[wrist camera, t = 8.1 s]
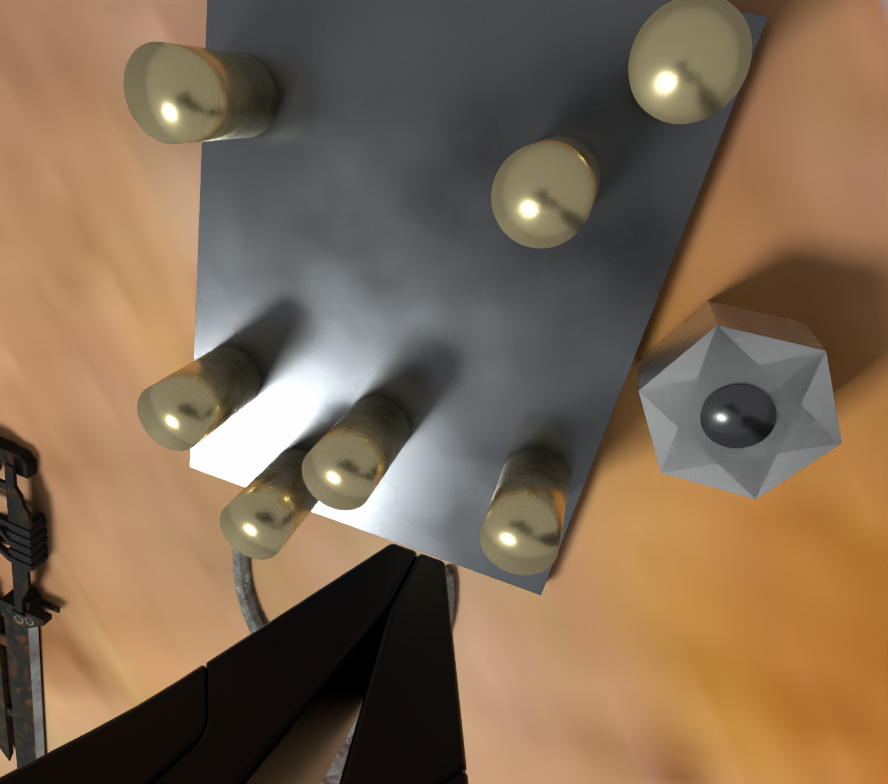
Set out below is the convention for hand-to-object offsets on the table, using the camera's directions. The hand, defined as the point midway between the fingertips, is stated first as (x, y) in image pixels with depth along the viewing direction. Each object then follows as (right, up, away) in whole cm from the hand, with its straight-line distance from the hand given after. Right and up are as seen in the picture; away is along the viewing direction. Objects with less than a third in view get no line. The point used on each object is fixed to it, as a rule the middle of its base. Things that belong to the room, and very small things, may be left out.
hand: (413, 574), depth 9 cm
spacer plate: (0, +5, +10) cm, 12 cm away
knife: (-22, -10, +25) cm, 34 cm away
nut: (+9, +3, +9) cm, 13 cm away
